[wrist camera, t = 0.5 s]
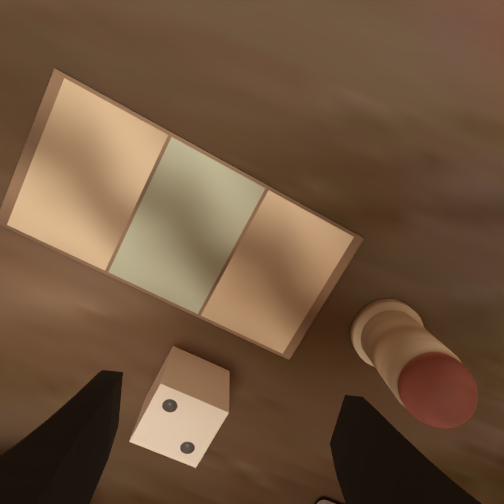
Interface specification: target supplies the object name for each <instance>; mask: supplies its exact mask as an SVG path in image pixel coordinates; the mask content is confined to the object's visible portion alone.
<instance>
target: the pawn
mask: <svg viewBox="0 0 504 504" xmlns="http://www.w3.org/2000/svg"><path fill="white" fill-rule="evenodd" d="M350 338H351V342H352V345H353V347H354V349H355V350H356V352H357V353H358V355H359V356H360V358H361V359H362V360H363V361H365V362H366V363H367V364H369V365H371V366H374V367H375V368H376V369H377V371H378V372H379V374H380V375H381V377H382V378H383V379H384V381H385V382H386V384H387V385H388V387H389V388H390V390H391V391H392V392H393V394H394V395H395V397H396V398H397V400H398V401H399V402H400V403H401V404H402V405H403V406H404V407H406V409H407V410H408V411H409V412H410V413H411V414H412V415H413V416H414V417H415V418H416V419H418V420H419V421H421V422H423V423H424V424H427V425H429V426H432V427H437V428H452V427H456V426H459V425H461V424H463V423H464V422H466V421H467V420H468V419H469V418H470V417H471V416H472V415H473V413H474V411H475V409H476V407H477V403H478V390H477V386H476V383H475V380H474V378H473V376H472V375H471V373H470V372H469V370H468V369H467V368H466V367H465V366H464V365H463V364H462V362H461V361H460V359H459V358H458V357H457V356H456V355H455V354H454V353H453V352H451V351H450V350H449V349H448V348H447V347H446V346H444V345H443V344H442V343H441V342H440V341H439V340H437V339H436V338H435V337H434V336H433V335H432V334H430V333H429V332H428V331H427V330H426V329H425V328H424V326H423V323H422V320H421V318H420V317H419V315H418V314H417V313H416V312H415V311H414V310H413V309H411V308H410V307H409V306H408V305H407V304H405V303H403V302H401V301H399V300H395V299H380V300H376V301H374V302H371V303H369V304H368V305H366V306H365V307H364V308H362V309H361V310H360V311H359V312H358V314H357V315H356V316H355V318H354V320H353V322H352V325H351V329H350Z"/></svg>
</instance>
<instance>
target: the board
mask: <svg viewBox="0 0 504 504" xmlns="http://www.w3.org/2000/svg"><path fill="white" fill-rule="evenodd" d="M0 226H3V227H5V228H7V229H9V230H11V231H13V232H15V233H18V234H20V235H22V236H24V237H26V238H28V239H31V240H33V241H35V242H37V243H39V244H41V245H43V246H46V247H48V248H50V249H52V250H54V251H56V252H58V253H61V254H63V255H65V256H67V257H69V258H71V259H73V260H76V261H78V262H80V263H82V264H84V265H86V266H88V267H91V268H93V269H95V270H97V271H99V272H101V273H103V274H106V275H108V276H110V277H112V278H114V279H116V280H119V281H121V282H123V283H125V284H127V285H129V286H131V287H134V288H136V289H138V290H140V291H142V292H144V293H146V294H149V295H151V296H153V297H155V298H157V299H159V300H161V301H164V302H166V303H168V304H170V305H172V306H174V307H176V308H179V309H181V310H183V311H185V312H187V313H189V314H192V315H194V316H196V317H198V318H200V319H202V320H204V321H207V322H209V323H211V324H213V325H215V326H217V327H219V328H222V329H224V330H226V331H228V332H230V333H232V334H234V335H237V336H239V337H241V338H243V339H245V340H247V341H249V342H252V343H254V344H256V345H258V346H260V347H262V348H265V349H267V350H269V351H271V352H273V353H275V354H277V355H280V356H282V357H284V358H286V359H288V360H290V358H291V356H292V355H293V353H294V351H295V350H296V348H297V347H298V345H299V343H300V342H301V340H302V338H303V337H304V335H305V334H306V332H307V330H308V329H309V327H310V325H311V324H312V322H313V321H314V319H315V317H316V316H317V314H318V313H319V311H320V309H321V308H322V306H323V304H324V303H325V301H326V300H327V298H328V296H329V295H330V293H331V291H332V290H333V288H334V287H335V285H336V283H337V282H338V280H339V279H340V277H341V275H342V274H343V272H344V270H345V269H346V267H347V266H348V264H349V262H350V261H351V259H352V257H353V256H354V254H355V253H356V251H357V249H358V248H359V246H360V244H361V243H362V241H363V240H364V238H362V237H360V236H359V235H357V234H355V233H353V232H351V231H350V230H348V229H346V228H344V227H342V226H340V225H339V224H337V223H335V222H333V221H331V220H330V219H328V218H326V217H324V216H322V215H320V214H319V213H317V212H315V211H313V210H311V209H310V208H308V207H306V206H304V205H302V204H301V203H299V202H297V201H295V200H293V199H291V198H290V197H288V196H286V195H284V194H282V193H281V192H279V191H277V190H275V189H273V188H271V187H270V186H268V185H266V184H264V183H262V182H261V181H259V180H257V179H255V178H253V177H251V176H250V175H248V174H246V173H244V172H242V171H241V170H239V169H237V168H235V167H233V166H231V165H230V164H228V163H226V162H224V161H222V160H221V159H219V158H217V157H215V156H213V155H212V154H210V153H208V152H206V151H204V150H202V149H201V148H199V147H197V146H195V145H193V144H192V143H190V142H188V141H186V140H184V139H182V138H181V137H179V136H177V135H175V134H173V133H172V132H170V131H168V130H166V129H164V128H162V127H161V126H159V125H157V124H155V123H153V122H152V121H150V120H148V119H146V118H144V117H142V116H141V115H139V114H137V113H135V112H133V111H132V110H130V109H128V108H126V107H124V106H123V105H121V104H119V103H117V102H115V101H113V100H112V99H110V98H108V97H106V96H104V95H103V94H101V93H99V92H97V91H95V90H93V89H92V88H90V87H88V86H86V85H84V84H83V83H81V82H79V81H77V80H75V79H73V78H72V77H70V76H68V75H66V74H64V73H63V72H61V71H59V70H57V69H55V68H54V71H53V73H52V76H51V79H50V81H49V84H48V86H47V89H46V92H45V94H44V97H43V99H42V102H41V105H40V107H39V110H38V113H37V115H36V118H35V120H34V123H33V126H32V128H31V131H30V133H29V136H28V139H27V141H26V144H25V146H24V149H23V152H22V154H21V157H20V159H19V162H18V165H17V167H16V170H15V172H14V175H13V178H12V180H11V183H10V185H9V188H8V191H7V193H6V196H5V199H4V201H3V204H2V206H1V209H0Z"/></svg>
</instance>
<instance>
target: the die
mask: <svg viewBox="0 0 504 504" xmlns="http://www.w3.org/2000/svg"><path fill="white" fill-rule="evenodd" d="M229 381H230V371H228V370H226V369H224V368H222V367H219V366H217V365H215V364H213V363H210V362H208V361H206V360H204V359H201V358H199V357H197V356H195V355H193V354H190V353H188V352H186V351H184V350H181V349H179V348H177V347H175V346H173V347H172V349H171V351H170V353H169V355H168V356H167V358H166V360H165V362H164V364H163V366H162V368H161V370H160V371H159V373H158V375H157V377H156V379H155V381H154V383H153V384H152V386H151V388H150V390H149V392H148V394H147V396H146V398H145V401H144V404H143V406H142V409H141V412H140V414H139V417H138V420H137V422H136V425H135V428H134V430H133V433H132V436H131V438H130V441H129V442H131V443H134V444H137V445H139V446H142V447H144V448H147V449H149V450H152V451H154V452H157V453H160V454H162V455H165V456H167V457H170V458H172V459H175V460H177V461H180V462H183V463H185V464H188V465H190V466H193V467H195V468H196V467H197V465H198V463H199V462H200V460H201V458H202V457H203V455H204V453H205V452H206V450H207V448H208V447H209V445H210V443H211V442H212V440H213V438H214V437H215V435H216V433H217V432H218V430H219V428H220V427H221V425H222V423H223V422H224V420H225V418H226V417H227V415H228V413H229Z"/></svg>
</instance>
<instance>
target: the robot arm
mask: <svg viewBox="0 0 504 504" xmlns="http://www.w3.org/2000/svg"><path fill="white" fill-rule="evenodd" d="M122 376H123V372H115V371H106V370H102V371H101V372H99V373H98V374H97V375H96V376H95V377H94V378H93V379H92V380H91V381H90V382H89V383H88V384H87V385H85V386H84V387H83V388H82V389H81V390H80V391H79V392H78V393H77V394H76V395H75V396H74V397H73V398H72V399H70V400H69V401H68V402H67V403H66V404H65V405H64V406H63V407H61V408H60V409H59V410H58V411H57V412H56V413H55V414H53V415H52V416H51V417H50V418H49V419H48V420H46V421H45V422H44V423H43V424H41V425H40V426H39V427H38V428H36V429H35V430H34V431H33V432H31V433H30V434H29V435H28V436H26V437H25V438H24V439H23V440H21V441H20V442H19V443H18V444H16V445H15V446H13V447H12V448H11V449H9V450H8V451H7V452H5V453H4V454H3V455H1V456H0V504H89V503H90V501H91V498H92V496H93V494H94V491H95V489H96V486H97V484H98V482H99V479H100V477H101V475H102V472H103V470H104V468H105V465H106V463H107V460H108V457H109V454H110V451H111V448H112V445H113V441H114V438H115V435H116V431H117V428H118V422H119V411H120V399H121V387H122ZM330 446H331V451H332V456H333V461H334V465H335V470H336V474H337V478H338V481H339V484H340V487H341V490H342V493H343V496H344V499H345V502H346V504H481V503H480V502H479V501H477V500H476V499H475V498H473V497H472V496H471V495H470V494H468V493H467V492H466V491H465V490H463V489H462V488H461V487H459V486H458V485H457V484H456V483H455V482H453V481H452V480H451V479H450V478H449V477H447V476H446V475H445V474H444V473H443V472H442V471H441V470H439V469H438V468H437V467H436V466H435V465H434V464H433V463H432V462H430V461H429V460H428V459H427V458H426V457H425V456H424V455H423V454H422V453H421V452H419V451H418V450H417V449H416V448H415V447H414V446H413V445H412V444H411V443H410V442H409V441H408V440H407V439H406V438H405V437H404V436H403V435H402V434H401V433H400V432H398V431H397V430H396V429H395V428H394V427H393V426H392V425H391V424H390V423H389V422H388V421H387V420H386V419H385V418H384V417H383V416H382V415H381V414H380V413H379V412H378V411H377V410H376V409H375V408H374V407H373V406H372V405H371V404H370V403H369V402H368V401H366V400H365V399H364V398H363V397H358V396H348V395H345V397H344V400H343V403H342V407H341V410H340V413H339V416H338V420H337V423H336V426H335V429H334V433H333V436H332V439H331V442H330ZM317 504H335V503H332V502H330V501H327V500H321V501H319V502H318V503H317Z"/></svg>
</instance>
